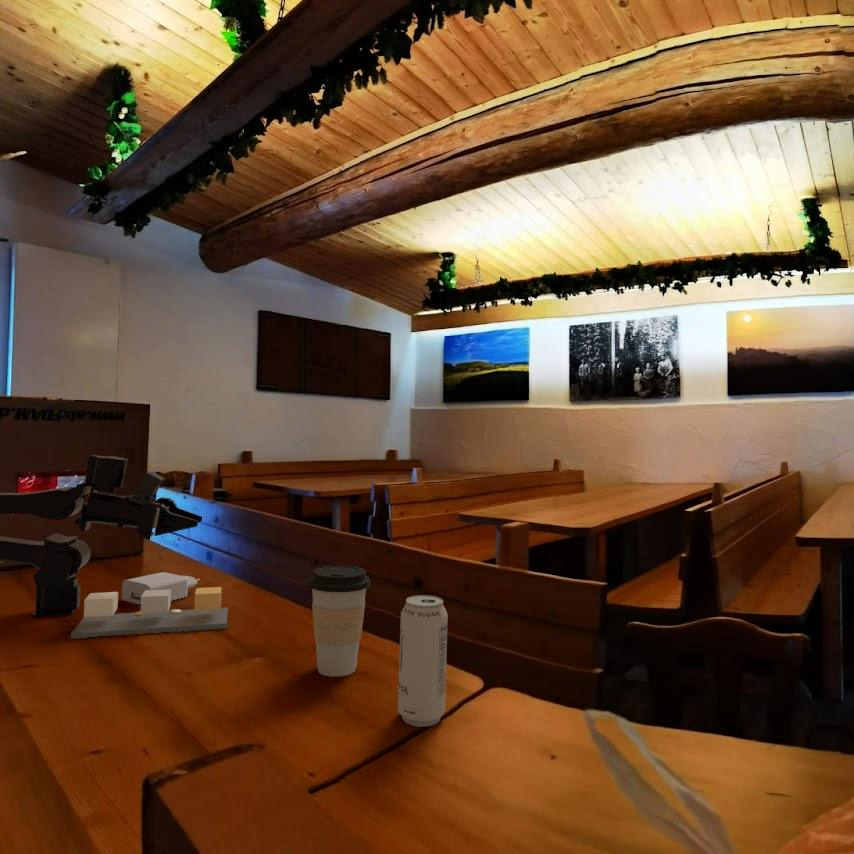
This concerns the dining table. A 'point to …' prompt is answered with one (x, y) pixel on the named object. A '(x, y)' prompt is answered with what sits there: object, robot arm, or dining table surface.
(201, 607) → the key amber
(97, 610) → the key cream
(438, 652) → the energy drink can
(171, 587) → the charger
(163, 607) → the key grey
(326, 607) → the coffee cup
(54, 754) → the dining table surface
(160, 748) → the dining table surface
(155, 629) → the keypad base
